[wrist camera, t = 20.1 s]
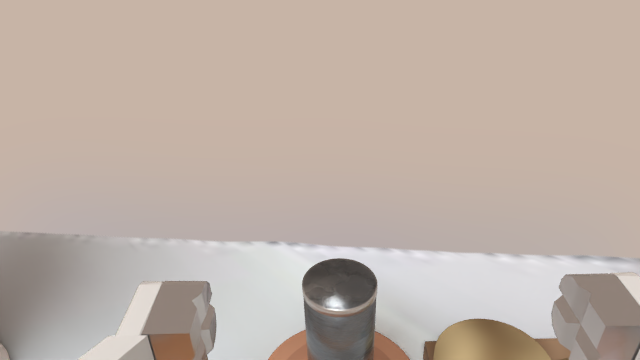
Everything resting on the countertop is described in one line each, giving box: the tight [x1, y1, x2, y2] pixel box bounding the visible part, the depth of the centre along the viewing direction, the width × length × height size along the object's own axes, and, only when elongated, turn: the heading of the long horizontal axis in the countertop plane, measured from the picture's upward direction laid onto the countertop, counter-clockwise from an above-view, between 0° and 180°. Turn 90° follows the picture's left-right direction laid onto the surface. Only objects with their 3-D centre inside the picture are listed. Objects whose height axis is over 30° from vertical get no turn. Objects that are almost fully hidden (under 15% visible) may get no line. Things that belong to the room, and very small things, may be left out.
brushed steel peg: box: [302, 259, 377, 360], centre depth 36 cm, size 5×5×11 cm
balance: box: [423, 319, 571, 360], centre depth 37 cm, size 27×9×8 cm, turn 90°
